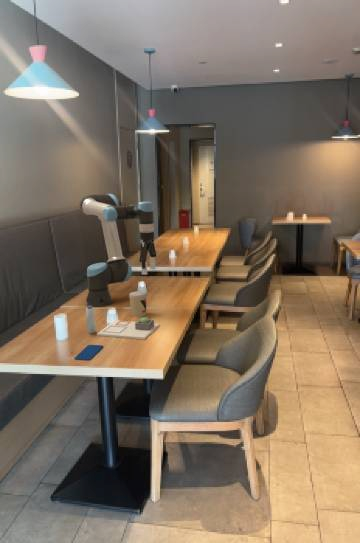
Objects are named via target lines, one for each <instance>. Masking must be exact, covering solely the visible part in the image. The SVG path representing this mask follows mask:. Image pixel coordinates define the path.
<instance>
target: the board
mask: <svg viewBox="0 0 360 543" xmlns="http://www.w3.org/2000/svg"><path fill="white" fill-rule="evenodd" d="M159 327H160V323H157V322H156V323H155V320H154V319H150V318H149V322H148V323H140V319H139V320H137V321H132V320H131V321H128V320H127V321H126V320H117V319H116V321H115V320H114V321H113V322H111V323H110V324H108V325H107V326H106V327H104V328H103V329H101V330H100V331H98V332H97V333H96V336H97V337H99V336H100V337H108V338H109V337H110V338H121V339H134V340H146V339H147V338H148V337H149V336H150V335H151V334H152V333H153V332H155V331H156V330H157V329H158V328H159Z"/></svg>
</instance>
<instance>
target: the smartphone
mask: <svg viewBox="0 0 360 543" xmlns="http://www.w3.org/2000/svg"><path fill="white" fill-rule="evenodd" d="M103 349H104V345H100V344H99V345H98V344H87V345H86V346H85V347H84V348H83V349H82V350H81V351H80V352H79V353H78V354H77V355H76V356H75V357H74V360H75V361H92V359H93V358H95V357H96V355H98V354H99V353H100V352H101V351H102V350H103Z"/></svg>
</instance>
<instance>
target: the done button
mask: <svg viewBox="0 0 360 543" xmlns="http://www.w3.org/2000/svg"><path fill="white" fill-rule="evenodd" d="M149 319H150V318H149V317H146V316H143V317H139V320H140V323H148V322H149Z"/></svg>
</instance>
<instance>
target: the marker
mask: <svg viewBox="0 0 360 543" xmlns="http://www.w3.org/2000/svg"><path fill="white" fill-rule="evenodd" d="M94 308H95V307H92V306H88V305H86V308H85V313H86V314H85V315H86V327H87V333H88V334H94V333H96V321H95V320H96V319H95V309H94Z"/></svg>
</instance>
